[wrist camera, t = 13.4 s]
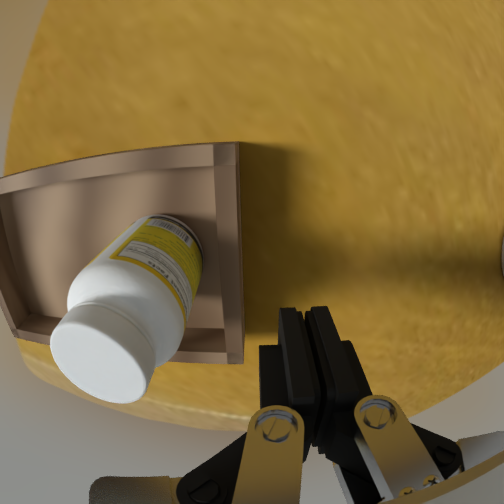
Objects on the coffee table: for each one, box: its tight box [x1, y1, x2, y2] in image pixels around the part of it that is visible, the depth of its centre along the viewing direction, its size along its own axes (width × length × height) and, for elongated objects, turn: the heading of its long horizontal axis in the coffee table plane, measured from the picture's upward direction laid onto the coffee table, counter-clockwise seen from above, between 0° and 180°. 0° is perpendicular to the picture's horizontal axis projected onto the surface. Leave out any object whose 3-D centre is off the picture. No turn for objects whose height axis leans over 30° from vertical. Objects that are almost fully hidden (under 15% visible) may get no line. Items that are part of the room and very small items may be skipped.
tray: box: [0, 141, 245, 364], centre depth 17 cm, size 20×13×4 cm, turn 91°
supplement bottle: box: [50, 215, 204, 403], centre depth 13 cm, size 5×5×10 cm
